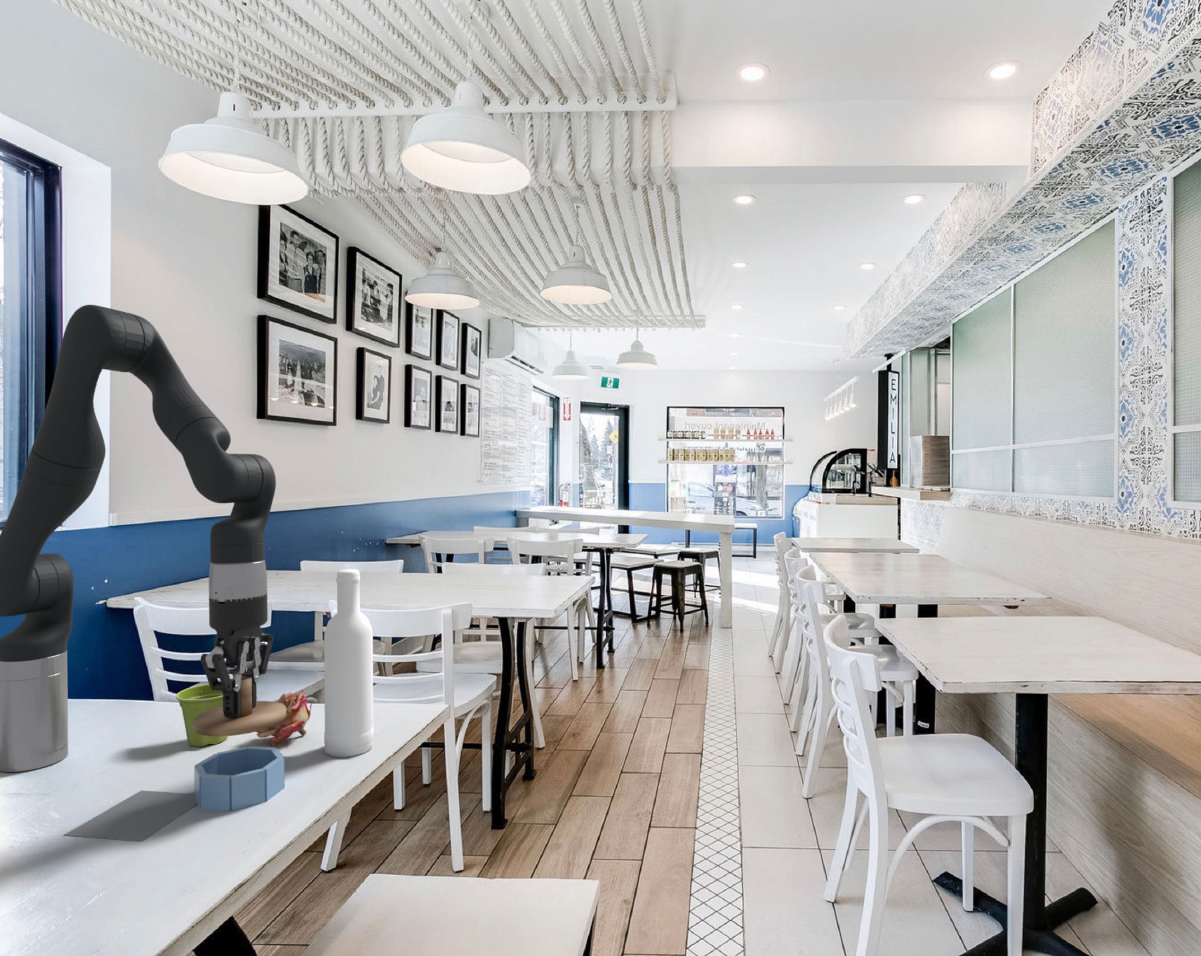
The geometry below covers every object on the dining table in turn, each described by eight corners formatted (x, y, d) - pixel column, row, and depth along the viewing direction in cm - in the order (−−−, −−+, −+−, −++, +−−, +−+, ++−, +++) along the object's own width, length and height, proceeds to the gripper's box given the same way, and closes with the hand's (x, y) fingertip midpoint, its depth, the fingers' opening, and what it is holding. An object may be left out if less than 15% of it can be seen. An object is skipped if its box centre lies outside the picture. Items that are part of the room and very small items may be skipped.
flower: (309, 714, 135) (281, 684, 132) (335, 715, 129) (307, 683, 126) (269, 758, 128) (239, 728, 125) (296, 761, 122) (265, 728, 119)
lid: (172, 734, 100) (172, 690, 100) (229, 706, 112) (228, 667, 112) (254, 738, 98) (253, 693, 98) (302, 709, 110) (301, 669, 110)
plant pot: (212, 753, 121) (211, 701, 121) (163, 748, 123) (162, 697, 123) (249, 733, 130) (249, 684, 130) (203, 729, 132) (203, 681, 132)
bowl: (178, 811, 100) (178, 775, 100) (229, 777, 111) (229, 745, 111) (252, 816, 99) (252, 779, 99) (297, 781, 110) (296, 748, 110)
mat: (63, 839, 93) (63, 835, 93) (141, 794, 105) (141, 790, 105) (141, 845, 91) (141, 841, 91) (211, 799, 104) (210, 794, 104)
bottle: (339, 761, 117) (338, 575, 117) (315, 749, 122) (313, 570, 122) (383, 747, 123) (382, 570, 123) (358, 736, 128) (357, 566, 128)
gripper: (244, 584, 112) (246, 696, 112) (180, 601, 98) (182, 729, 98) (290, 585, 111) (291, 698, 111) (231, 601, 97) (233, 731, 97)
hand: (240, 712), depth 105 cm, fingers closed on lid, 3 cm apart
